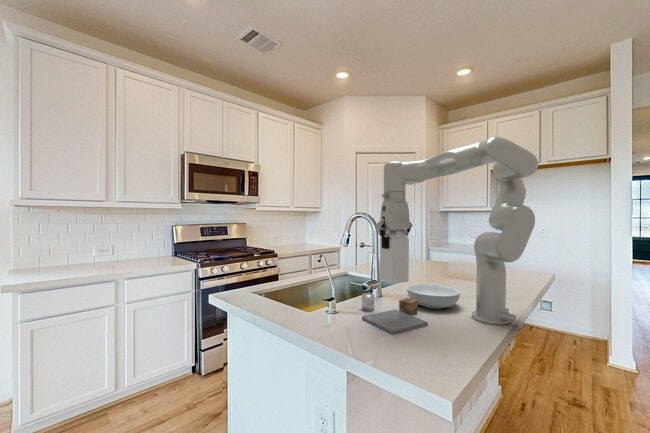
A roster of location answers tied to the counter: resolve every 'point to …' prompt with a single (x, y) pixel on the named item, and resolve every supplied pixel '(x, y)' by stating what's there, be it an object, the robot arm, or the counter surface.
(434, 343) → the counter surface
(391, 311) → the plate
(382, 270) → the milk carton
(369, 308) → the glass jar
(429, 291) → the serving bowl
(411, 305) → the walnut block
